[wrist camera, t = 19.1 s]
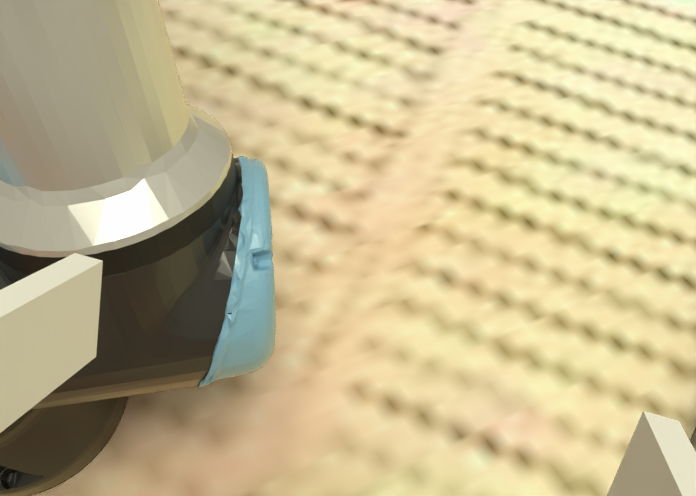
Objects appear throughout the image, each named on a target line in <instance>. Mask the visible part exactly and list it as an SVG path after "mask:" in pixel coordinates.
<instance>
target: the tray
mask: <svg viewBox="0 0 696 496" xmlns="http://www.w3.org/2000/svg"><path fill="white" fill-rule="evenodd" d="M690 442H691V444H692V446H693V448H694V450H695V451H696V429H695V431H694V434H693V436H692V439H691V441H690Z"/></svg>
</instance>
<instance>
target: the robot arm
mask: <svg viewBox="0 0 696 496" xmlns="http://www.w3.org/2000/svg"><path fill="white" fill-rule="evenodd" d="M272 256H273V253H272V226H271V210H270V197H269V185H268V176H267V170H266V167H265V165H264V163H263V162H262V161H260V160H257V159H248V158H247V157H244V156H240V157H238V158H235V159H234V158H233V154H232V149H231V145H230V141H229V139H228V137H227V134H226V132H225V130H224V129H223V127H222V126H221V125H220V124H219V123H218V122H217V121H216V120H215V119H214V118H212V117H211V116H209V115H208V114H206V113H204V112H202V111H200V110H198V109H196V108H194V107H192V106H190V105H188V104H186V102H185V98H184V95H183V91H182V87H181V83H180V80H179V76H178V72H177V68H176V65H175V61H174V57H173V54H172V50H171V46H170V42H169V39H168V35H167V31H166V27H165V24H164V20H163V16H162V12H161V9H160V5H159V1H158V0H0V496H28V495H32V494H36V493H39V492H42V491H45V490H47V489H50V488H52V487H54V486H56V485H58V484H60V483H62V482H64V481H66V480H67V479H69V478H70V477H72V476H73V475H75V474H76V473H78V472H79V471H80V470H81V469H83V468H84V467H85V466H86V465H87V464H88V463H89V462H91V461H92V460H93V458H94V457H95V456H96V455H97V454H98V453H99V452H100V451H101V450H102V449H103V447H104V446H105V445H106V443H107V442H108V440H109V439H110V437H111V436H112V434H113V433H114V431H115V429H116V427H117V425H118V423H119V421H120V419H121V417H122V414H123V411H124V408H125V405H126V402H127V398H128V396H131V395H138V394H145V393H152V392H159V391H166V390H172V389H179V388H186V387H193V386H198V387H204V386H207V385H209V384H210V383H212V381H216V380H220V379H225V378H229V377H234V376H238V375H243V374H247V373H251V372H254V371H256V370H258V369H259V368H261V367H262V366H263V365H264V364H266V362H267V361H268V360H269V358H270V357H271V355H272V352H273V349H274V345H275V289H274V270H273V263H272ZM607 496H696V451H695V450H694V448H693V446H692V444H691V442H690V440H689V439H688V437H687V435H686V433H685V431H684V429H683V428H682V426H681V424H680V422H679V421H677V420H674V419H670V418H667V417H663V416H659V415H656V414H652V413H649V412H645V411H643V413H642V415H641V418H640V420H639V422H638V425H637V427H636V429H635V432H634V434H633V436H632V439H631V441H630V443H629V446H628V448H627V450H626V452H625V455H624V457H623V459H622V462H621V464H620V466H619V469H618V471H617V473H616V476H615V478H614V480H613V483H612V485H611V487H610V490H609V492H608V494H607Z"/></svg>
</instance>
